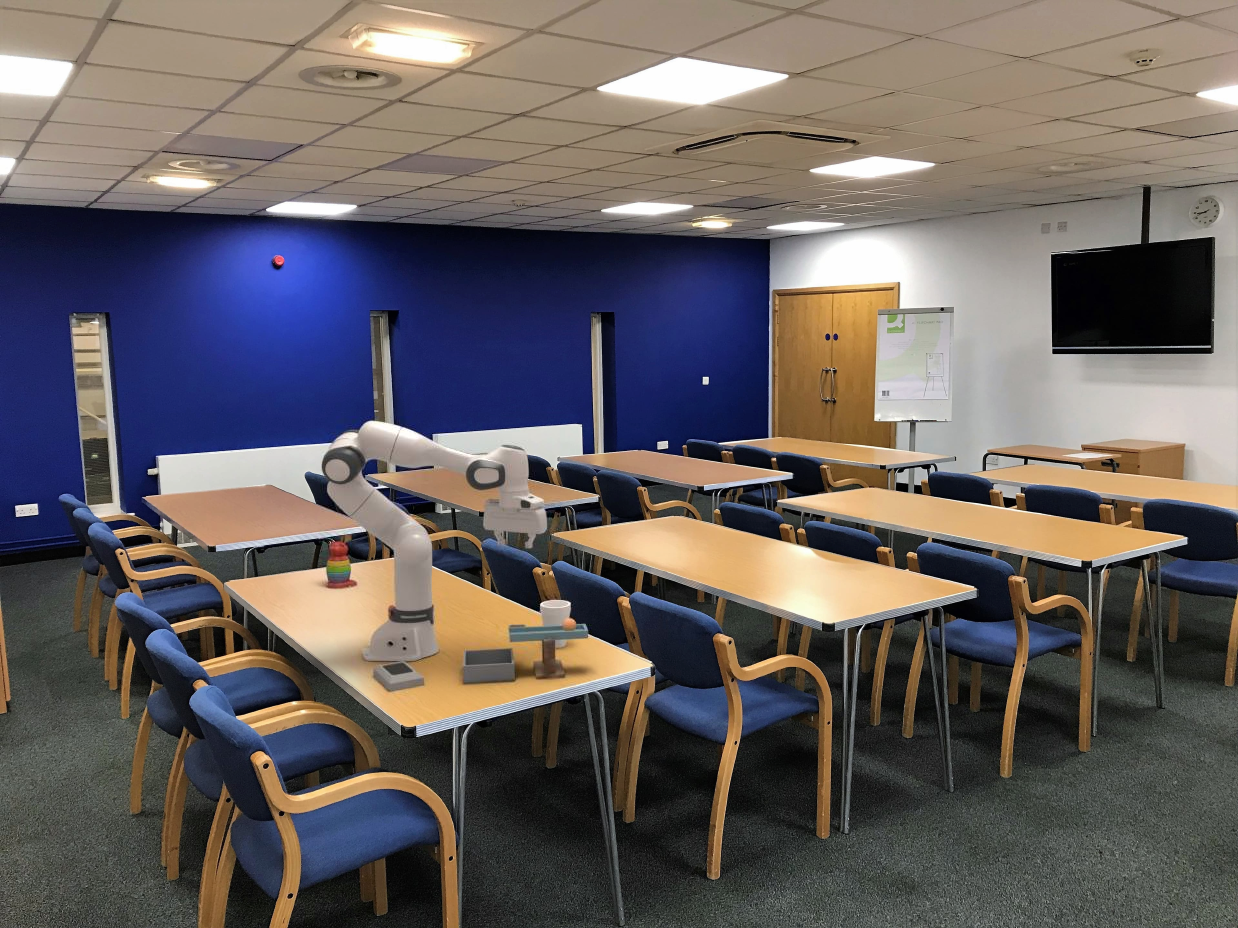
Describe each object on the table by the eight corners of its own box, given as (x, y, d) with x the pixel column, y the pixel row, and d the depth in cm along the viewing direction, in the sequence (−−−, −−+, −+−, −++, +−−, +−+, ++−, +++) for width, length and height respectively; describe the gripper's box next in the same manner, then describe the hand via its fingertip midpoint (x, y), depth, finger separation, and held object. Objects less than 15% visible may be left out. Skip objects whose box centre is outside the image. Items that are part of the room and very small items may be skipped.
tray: (463, 683, 255) (462, 666, 255) (464, 667, 269) (463, 650, 268) (514, 680, 257) (514, 663, 257) (512, 664, 271) (512, 647, 270)
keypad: (389, 679, 249) (373, 664, 262) (390, 692, 250) (373, 676, 262) (423, 673, 254) (406, 658, 267) (424, 686, 255) (406, 670, 267)
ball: (563, 634, 263) (562, 620, 262) (561, 630, 267) (561, 616, 266) (577, 633, 263) (576, 620, 263) (575, 629, 267) (575, 616, 267)
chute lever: (509, 642, 259) (509, 634, 259) (508, 628, 272) (508, 621, 272) (588, 638, 263) (588, 630, 262) (583, 625, 275) (583, 618, 275)
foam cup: (542, 650, 284) (541, 608, 283) (539, 641, 293) (538, 600, 292) (573, 648, 286) (572, 606, 285) (569, 639, 295) (568, 599, 294)
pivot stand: (536, 679, 258) (535, 639, 257) (533, 663, 271) (532, 626, 270) (564, 677, 260) (564, 638, 258) (560, 662, 272) (560, 625, 271)
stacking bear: (359, 584, 368) (357, 540, 366) (339, 590, 360) (337, 545, 358) (340, 581, 374) (338, 538, 372) (320, 586, 365) (318, 542, 363)
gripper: (478, 499, 274) (479, 545, 275) (538, 503, 265) (539, 551, 267) (490, 496, 280) (491, 542, 281) (549, 500, 271) (550, 547, 272)
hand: (515, 546), depth 274 cm, fingers open, 8 cm apart
